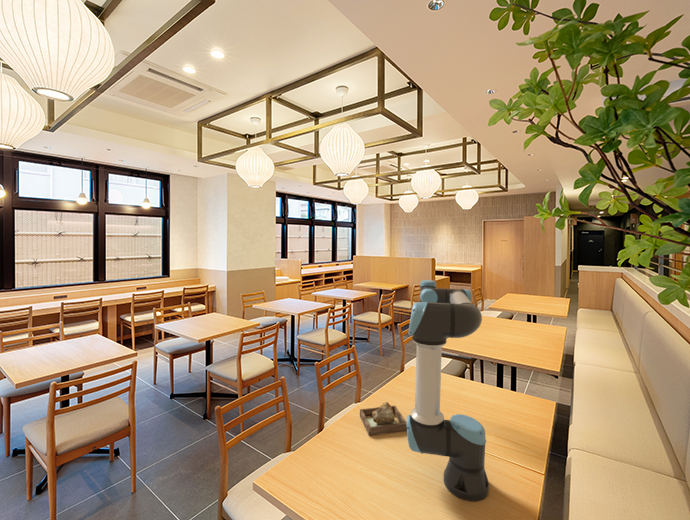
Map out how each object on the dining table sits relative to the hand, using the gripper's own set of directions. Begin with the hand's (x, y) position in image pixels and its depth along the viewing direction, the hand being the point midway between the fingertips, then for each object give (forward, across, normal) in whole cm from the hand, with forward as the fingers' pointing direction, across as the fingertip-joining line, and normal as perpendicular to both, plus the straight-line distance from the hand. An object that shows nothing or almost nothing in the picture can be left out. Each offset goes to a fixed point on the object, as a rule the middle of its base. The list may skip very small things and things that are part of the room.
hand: (426, 353), depth 166 cm
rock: (+29, -8, +25) cm, 39 cm away
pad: (+29, -8, +25) cm, 39 cm away
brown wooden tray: (+29, -8, +25) cm, 39 cm away
